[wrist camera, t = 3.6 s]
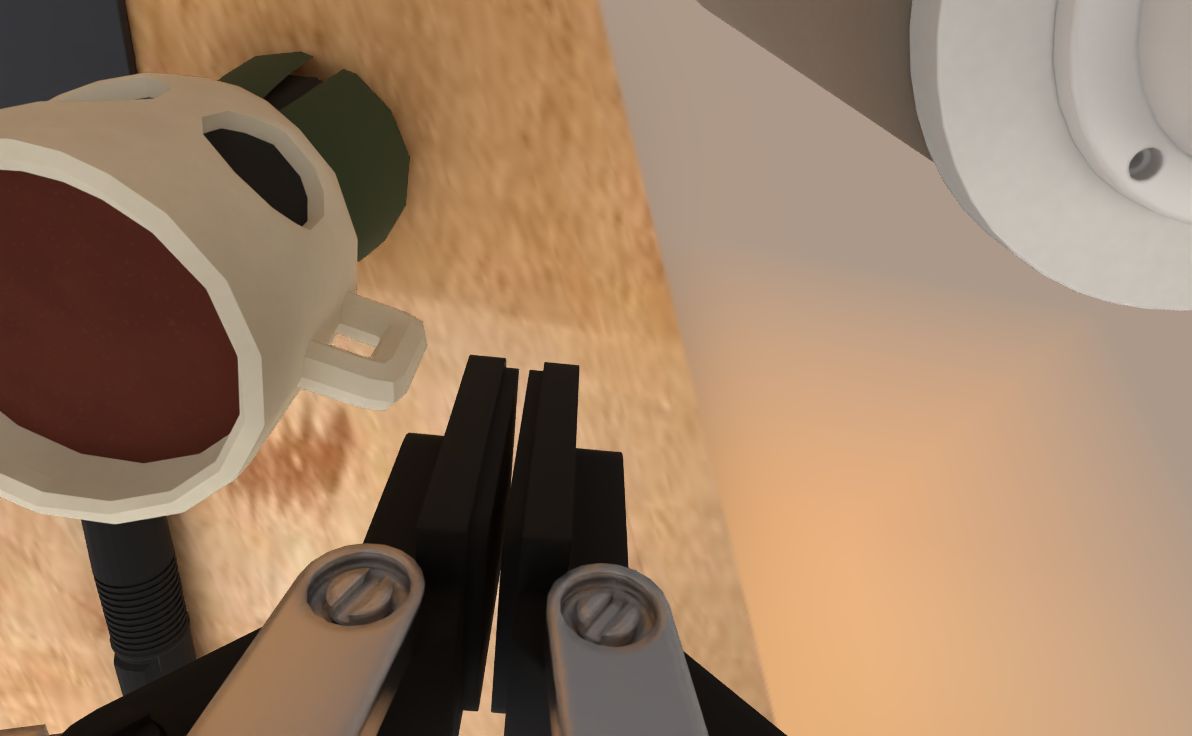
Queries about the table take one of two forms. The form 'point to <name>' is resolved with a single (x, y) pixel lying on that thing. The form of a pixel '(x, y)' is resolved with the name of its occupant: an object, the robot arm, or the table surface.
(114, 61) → the mat
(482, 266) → the table surface
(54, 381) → the character mug
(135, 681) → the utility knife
